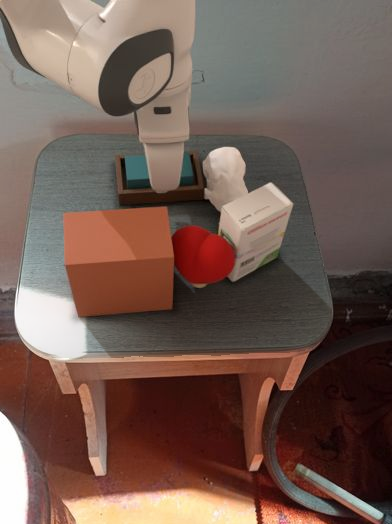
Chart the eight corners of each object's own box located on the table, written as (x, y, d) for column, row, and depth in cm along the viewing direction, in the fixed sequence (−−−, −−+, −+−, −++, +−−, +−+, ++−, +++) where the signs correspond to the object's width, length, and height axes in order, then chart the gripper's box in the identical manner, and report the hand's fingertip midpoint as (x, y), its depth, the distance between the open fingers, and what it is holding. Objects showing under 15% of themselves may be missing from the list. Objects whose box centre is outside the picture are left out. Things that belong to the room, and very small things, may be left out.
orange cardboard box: (78, 317, 77) (64, 265, 66) (76, 269, 81) (63, 212, 70) (172, 309, 78) (174, 257, 68) (166, 262, 82) (167, 206, 71)
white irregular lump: (244, 137, 82) (265, 204, 78) (235, 176, 90) (255, 238, 86) (202, 142, 81) (221, 211, 77) (197, 181, 89) (215, 245, 85)
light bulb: (238, 279, 81) (247, 235, 72) (216, 315, 78) (223, 273, 69) (182, 253, 83) (184, 206, 74) (158, 287, 80) (157, 243, 71)
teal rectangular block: (128, 194, 87) (127, 179, 84) (125, 170, 89) (124, 155, 86) (192, 190, 88) (193, 175, 85) (188, 166, 90) (189, 152, 88)
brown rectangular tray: (119, 205, 87) (118, 194, 84) (115, 166, 90) (114, 154, 88) (203, 199, 88) (204, 188, 86) (196, 161, 92) (197, 150, 89)
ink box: (258, 235, 85) (271, 179, 75) (278, 258, 84) (295, 203, 73) (212, 260, 83) (220, 204, 72) (232, 283, 81) (243, 230, 70)
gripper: (127, 37, 78) (132, 119, 90) (140, 143, 69) (143, 218, 81) (172, 36, 79) (171, 117, 91) (191, 140, 69) (186, 215, 82)
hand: (158, 166), depth 86 cm, fingers open, 8 cm apart
